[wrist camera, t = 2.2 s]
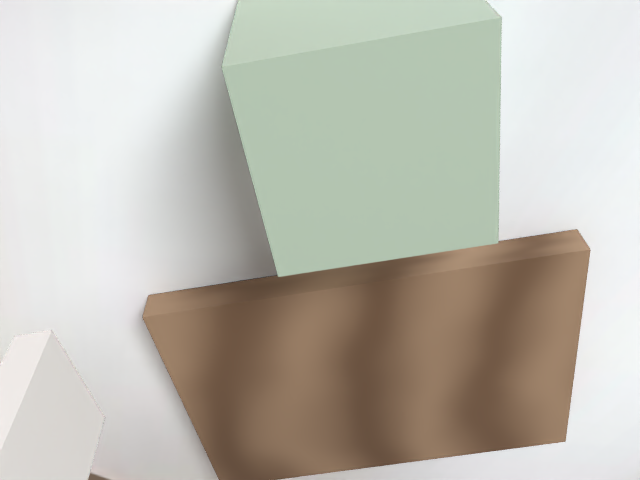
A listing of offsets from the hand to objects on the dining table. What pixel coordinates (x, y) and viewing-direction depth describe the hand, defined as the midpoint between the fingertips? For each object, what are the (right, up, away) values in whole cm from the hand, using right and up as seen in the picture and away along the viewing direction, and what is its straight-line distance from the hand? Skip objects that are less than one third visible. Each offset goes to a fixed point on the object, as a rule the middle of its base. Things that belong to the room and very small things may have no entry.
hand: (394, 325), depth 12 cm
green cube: (0, +8, +11) cm, 13 cm away
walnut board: (+1, -5, +20) cm, 21 cm away
